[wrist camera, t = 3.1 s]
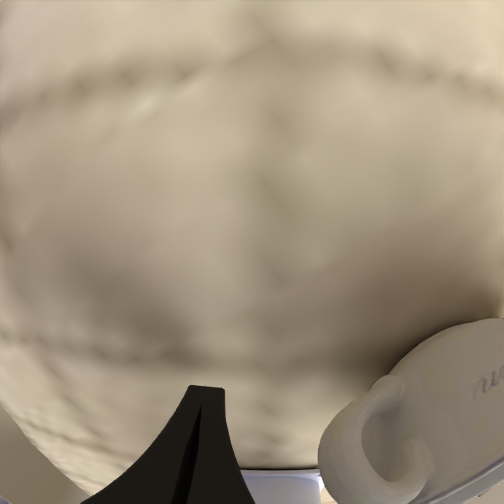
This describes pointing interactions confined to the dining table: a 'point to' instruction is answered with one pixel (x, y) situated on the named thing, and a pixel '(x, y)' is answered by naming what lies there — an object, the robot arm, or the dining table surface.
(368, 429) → the teacup
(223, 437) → the robot arm
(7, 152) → the dining table surface
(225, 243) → the dining table surface
